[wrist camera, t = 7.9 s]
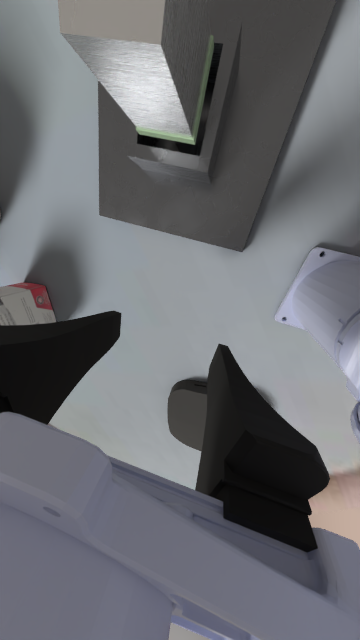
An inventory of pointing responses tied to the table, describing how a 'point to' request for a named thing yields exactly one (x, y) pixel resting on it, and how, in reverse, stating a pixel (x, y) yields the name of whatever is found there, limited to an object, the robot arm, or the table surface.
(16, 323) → the ink box
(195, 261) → the table surface
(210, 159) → the stand
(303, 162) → the table surface
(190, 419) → the media streaming box
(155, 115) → the column
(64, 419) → the table surface
